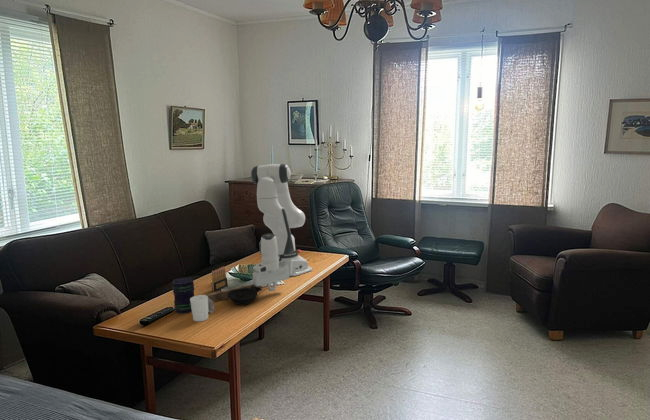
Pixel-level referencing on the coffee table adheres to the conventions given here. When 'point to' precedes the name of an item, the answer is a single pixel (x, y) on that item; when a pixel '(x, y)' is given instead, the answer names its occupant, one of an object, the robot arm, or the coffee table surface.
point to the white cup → (199, 307)
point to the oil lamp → (243, 295)
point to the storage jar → (183, 294)
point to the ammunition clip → (219, 279)
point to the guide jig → (223, 296)
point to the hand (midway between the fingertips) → (272, 290)
